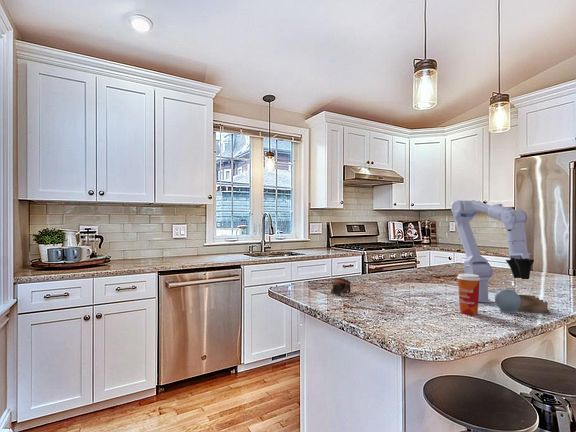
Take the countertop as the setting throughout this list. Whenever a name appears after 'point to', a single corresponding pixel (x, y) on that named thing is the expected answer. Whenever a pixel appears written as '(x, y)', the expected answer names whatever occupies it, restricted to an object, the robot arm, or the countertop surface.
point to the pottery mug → (340, 286)
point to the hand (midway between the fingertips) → (521, 278)
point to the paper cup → (468, 293)
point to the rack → (532, 304)
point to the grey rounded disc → (507, 301)
